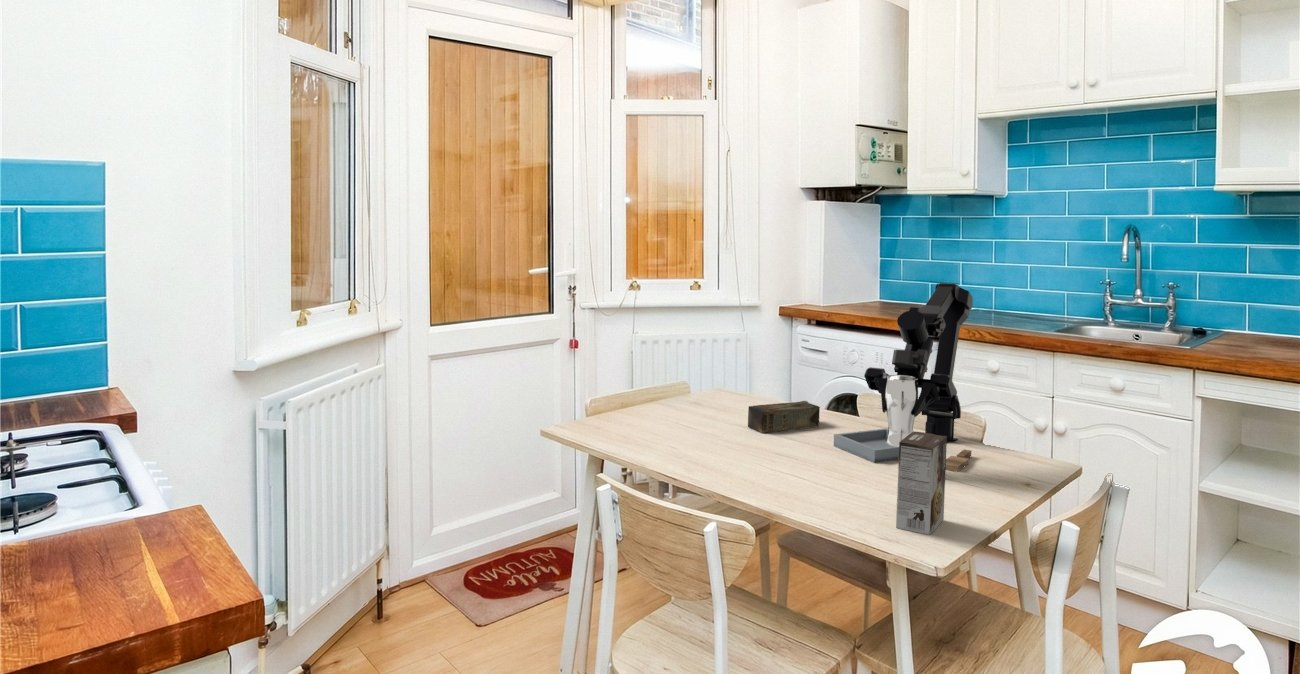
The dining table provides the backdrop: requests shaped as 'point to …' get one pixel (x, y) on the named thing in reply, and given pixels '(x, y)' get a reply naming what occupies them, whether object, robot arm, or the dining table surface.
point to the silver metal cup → (900, 406)
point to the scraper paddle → (958, 461)
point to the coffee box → (921, 482)
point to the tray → (867, 445)
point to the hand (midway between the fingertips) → (899, 413)
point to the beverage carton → (783, 416)
